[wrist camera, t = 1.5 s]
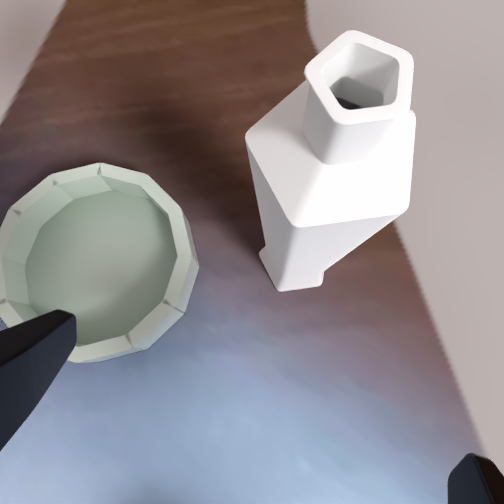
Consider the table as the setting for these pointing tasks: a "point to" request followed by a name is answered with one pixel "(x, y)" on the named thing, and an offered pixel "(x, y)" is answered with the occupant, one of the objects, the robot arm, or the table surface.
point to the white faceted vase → (333, 158)
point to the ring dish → (98, 258)
